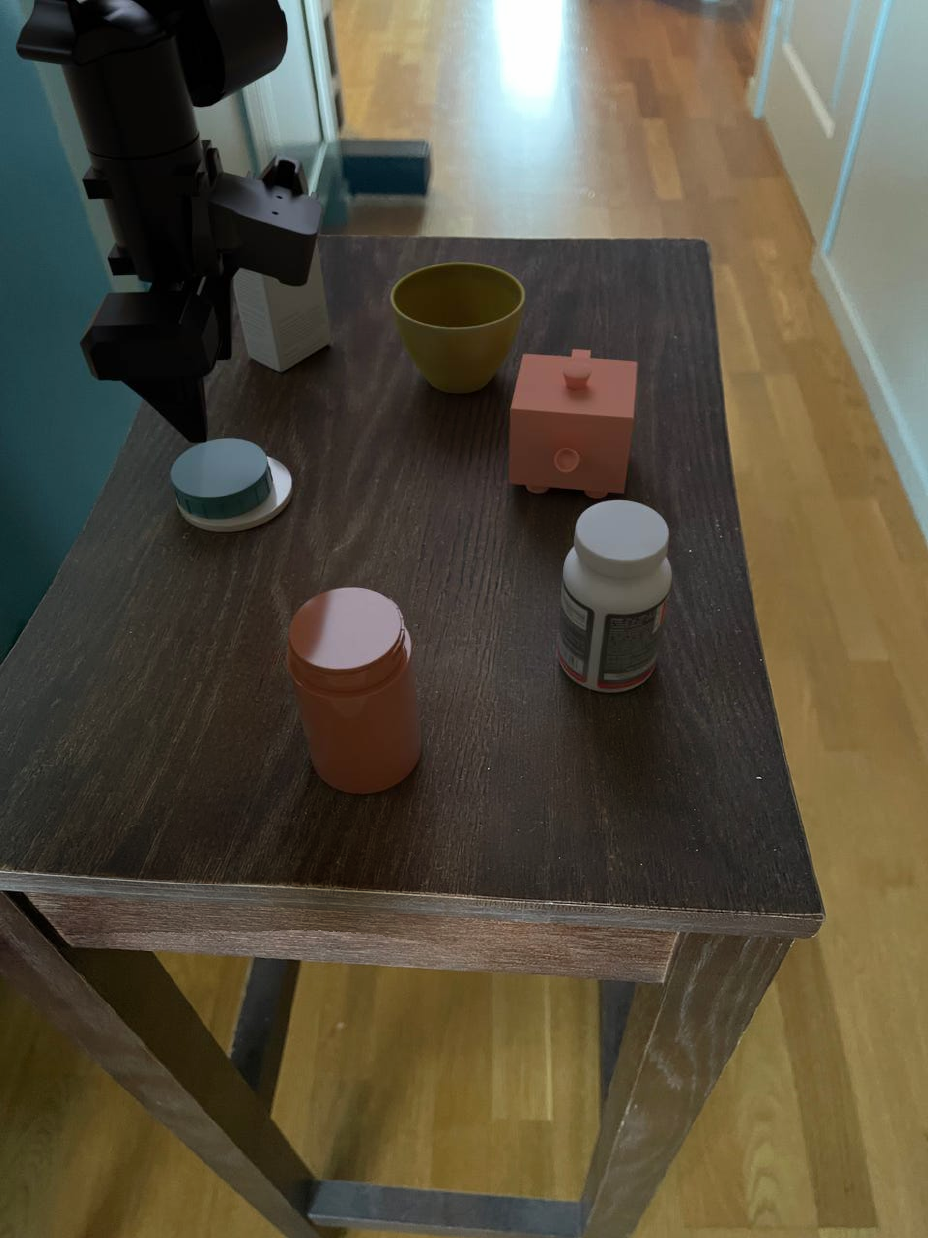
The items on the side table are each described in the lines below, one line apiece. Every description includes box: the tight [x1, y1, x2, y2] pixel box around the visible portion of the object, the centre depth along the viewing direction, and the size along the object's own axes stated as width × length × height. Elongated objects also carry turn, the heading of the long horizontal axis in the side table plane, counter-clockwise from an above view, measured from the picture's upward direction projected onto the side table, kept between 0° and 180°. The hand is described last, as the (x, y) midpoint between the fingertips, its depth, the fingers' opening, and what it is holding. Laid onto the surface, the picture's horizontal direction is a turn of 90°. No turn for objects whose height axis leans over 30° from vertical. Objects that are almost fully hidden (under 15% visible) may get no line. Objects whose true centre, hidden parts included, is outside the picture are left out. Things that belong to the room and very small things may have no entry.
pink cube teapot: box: [508, 348, 639, 499], centre depth 62 cm, size 8×12×8 cm, turn 171°
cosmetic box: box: [233, 239, 332, 373], centre depth 72 cm, size 6×4×12 cm
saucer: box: [175, 455, 294, 533], centre depth 64 cm, size 8×8×1 cm
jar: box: [285, 586, 423, 795], centre depth 46 cm, size 6×6×10 cm
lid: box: [169, 437, 273, 519], centre depth 63 cm, size 7×7×2 cm
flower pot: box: [389, 261, 526, 395], centre depth 71 cm, size 10×10×7 cm
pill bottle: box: [557, 499, 673, 693], centre depth 49 cm, size 6×6×10 cm
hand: (212, 397), depth 58 cm, fingers open, 9 cm apart
